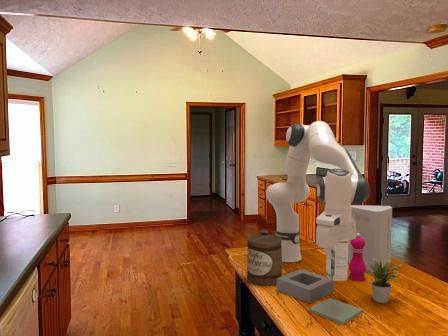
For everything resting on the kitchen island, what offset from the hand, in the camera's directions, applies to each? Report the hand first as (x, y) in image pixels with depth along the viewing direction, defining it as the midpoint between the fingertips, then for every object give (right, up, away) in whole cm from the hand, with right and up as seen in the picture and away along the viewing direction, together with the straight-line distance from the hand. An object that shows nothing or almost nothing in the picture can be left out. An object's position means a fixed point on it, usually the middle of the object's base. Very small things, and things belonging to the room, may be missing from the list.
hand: (336, 255), depth 130 cm
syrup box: (0, -8, +1) cm, 8 cm away
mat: (0, -20, +1) cm, 20 cm away
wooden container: (-22, -18, +32) cm, 43 cm away
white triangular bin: (+31, -17, +48) cm, 59 cm away
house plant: (+20, -20, +10) cm, 29 cm away
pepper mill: (+19, -18, +33) cm, 42 cm away
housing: (-7, -19, +19) cm, 28 cm away
